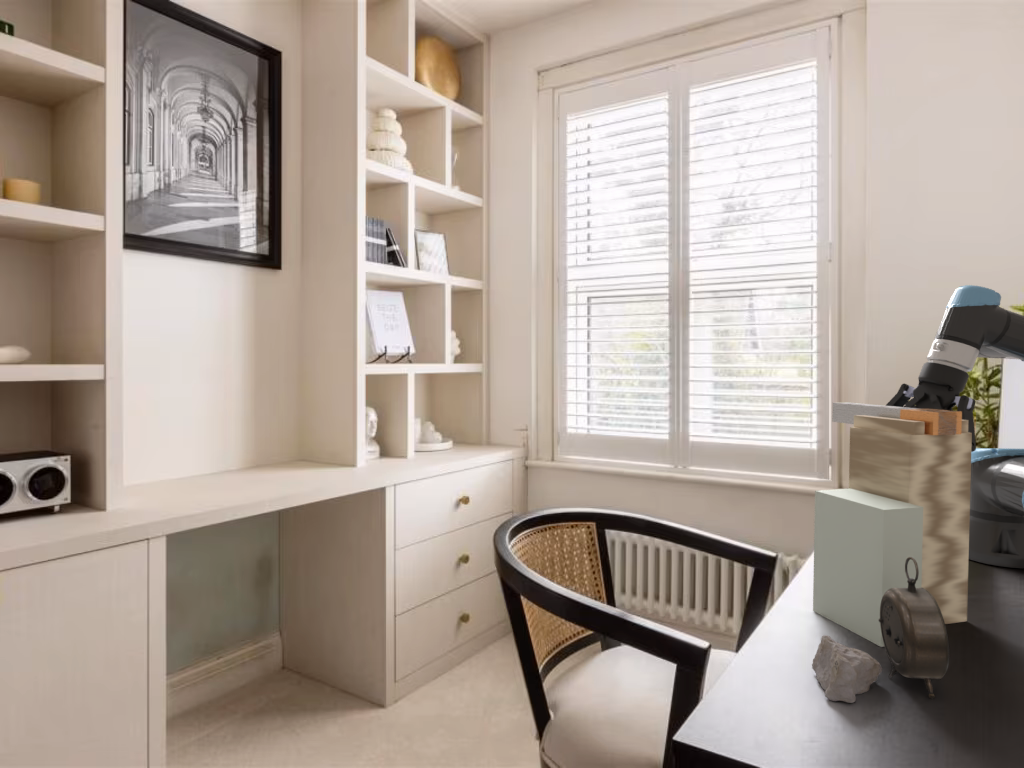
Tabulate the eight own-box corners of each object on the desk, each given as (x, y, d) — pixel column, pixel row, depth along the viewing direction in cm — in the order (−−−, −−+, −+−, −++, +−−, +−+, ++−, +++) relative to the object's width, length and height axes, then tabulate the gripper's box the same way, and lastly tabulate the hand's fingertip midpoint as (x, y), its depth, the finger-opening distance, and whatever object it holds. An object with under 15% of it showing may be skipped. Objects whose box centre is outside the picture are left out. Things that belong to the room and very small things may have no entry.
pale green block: (848, 606, 109) (850, 488, 109) (920, 641, 96) (923, 506, 95) (813, 610, 108) (815, 490, 107) (881, 646, 94) (884, 509, 93)
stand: (903, 594, 115) (907, 413, 113) (966, 621, 103) (972, 420, 102) (846, 601, 112) (850, 415, 110) (905, 629, 100) (910, 422, 99)
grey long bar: (852, 421, 121) (852, 402, 121) (961, 434, 100) (961, 411, 100) (827, 421, 120) (827, 402, 120) (932, 435, 99) (933, 412, 99)
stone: (887, 715, 76) (888, 666, 76) (811, 700, 80) (812, 653, 80) (880, 678, 85) (881, 634, 85) (812, 666, 89) (813, 624, 88)
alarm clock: (951, 705, 78) (954, 572, 78) (902, 700, 79) (904, 569, 79) (914, 663, 89) (917, 546, 88) (871, 659, 90) (873, 544, 89)
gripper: (878, 352, 133) (839, 449, 134) (1000, 370, 109) (952, 487, 111) (904, 364, 135) (865, 458, 137) (1028, 384, 112) (980, 498, 113)
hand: (904, 472), depth 124 cm, fingers open, 13 cm apart
